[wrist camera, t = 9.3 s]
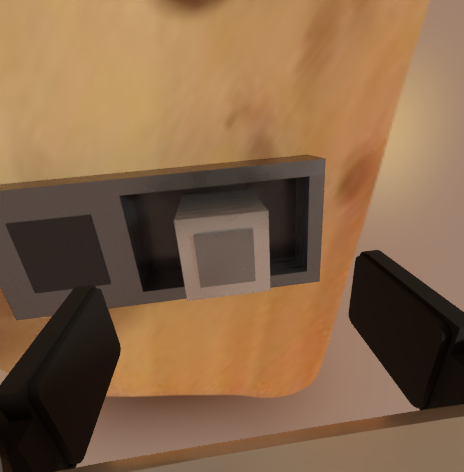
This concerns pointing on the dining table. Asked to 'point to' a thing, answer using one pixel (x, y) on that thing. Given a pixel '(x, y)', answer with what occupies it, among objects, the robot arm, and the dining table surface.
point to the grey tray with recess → (145, 230)
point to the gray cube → (223, 243)
